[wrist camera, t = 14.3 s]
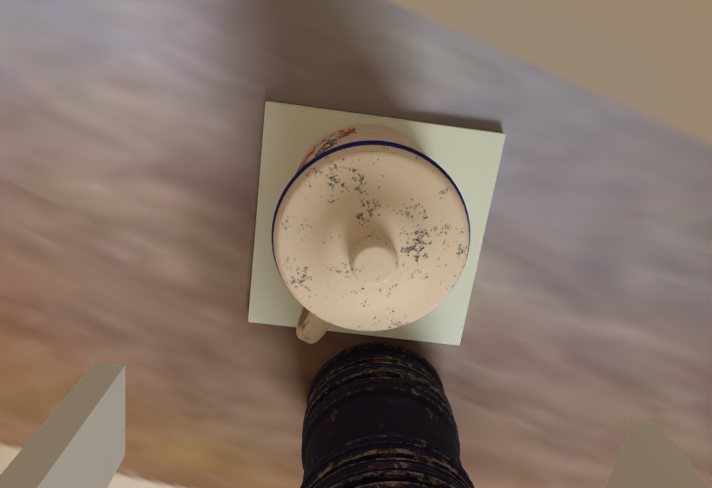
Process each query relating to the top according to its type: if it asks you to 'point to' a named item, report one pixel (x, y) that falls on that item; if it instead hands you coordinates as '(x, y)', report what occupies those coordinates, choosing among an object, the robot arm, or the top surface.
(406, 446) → the dark blue canister
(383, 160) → the teacup with lid
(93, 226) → the top surface
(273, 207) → the coaster
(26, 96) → the top surface
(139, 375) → the top surface
